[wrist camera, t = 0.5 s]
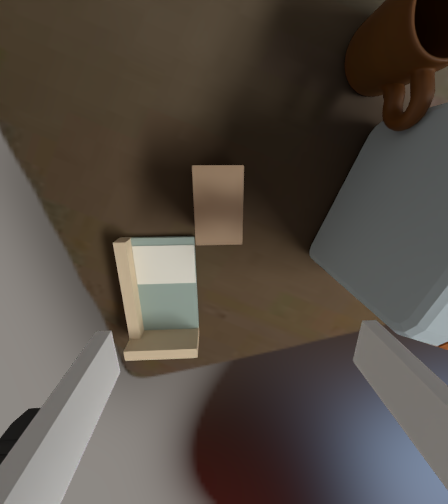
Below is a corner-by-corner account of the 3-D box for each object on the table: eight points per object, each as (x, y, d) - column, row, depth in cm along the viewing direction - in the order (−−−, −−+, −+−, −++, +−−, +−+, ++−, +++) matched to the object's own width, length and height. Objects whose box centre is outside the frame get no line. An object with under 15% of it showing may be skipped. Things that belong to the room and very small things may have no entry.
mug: (386, 141, 29) (463, 128, 20) (327, 138, 28) (380, 123, 20) (417, 20, 25) (530, -64, 16) (349, 13, 24) (428, -76, 16)
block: (196, 166, 29) (191, 165, 22) (236, 166, 29) (244, 165, 22) (199, 228, 31) (195, 245, 24) (235, 228, 32) (242, 244, 25)
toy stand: (120, 237, 31) (103, 249, 27) (194, 236, 32) (191, 247, 27) (136, 336, 37) (125, 360, 32) (199, 334, 37) (197, 357, 33)
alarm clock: (354, 272, 35) (530, 398, 16) (304, 254, 34) (429, 368, 14) (429, 149, 29) (845, 108, 10) (372, 121, 28) (732, 10, 9)
